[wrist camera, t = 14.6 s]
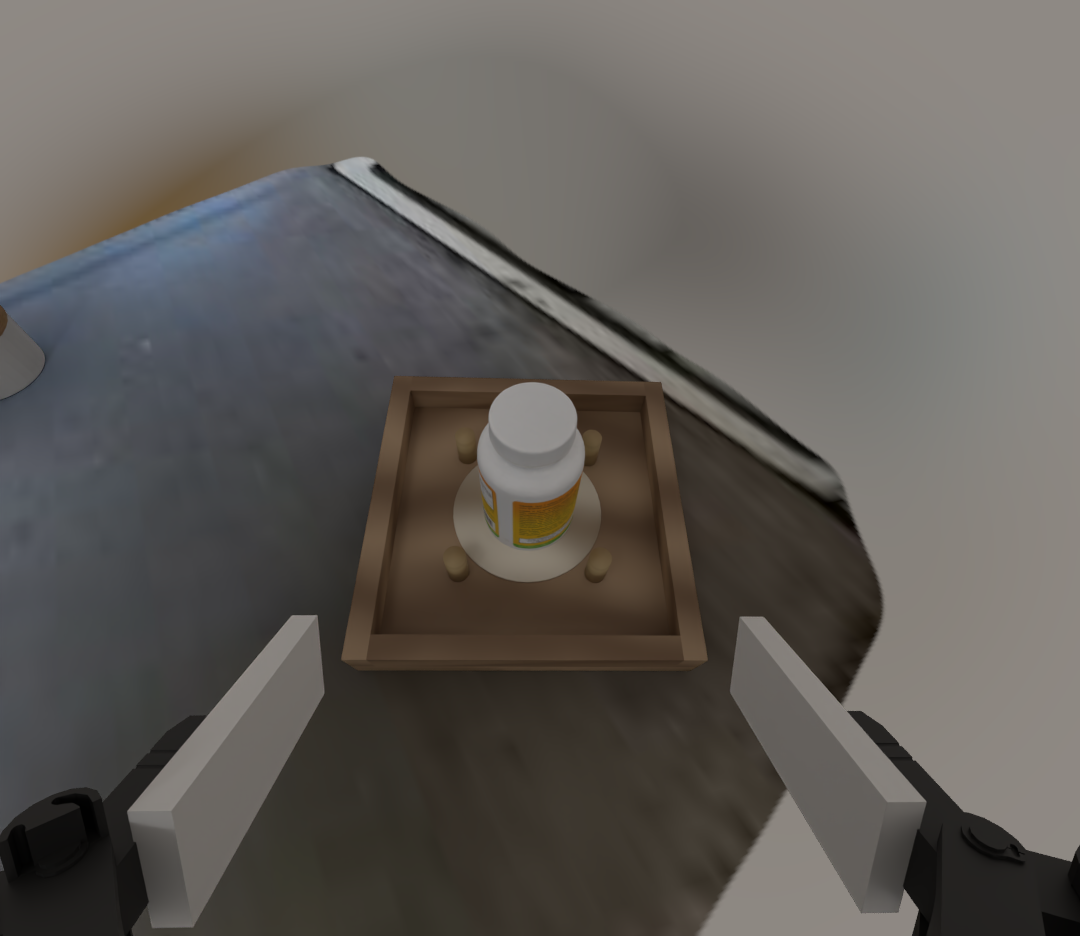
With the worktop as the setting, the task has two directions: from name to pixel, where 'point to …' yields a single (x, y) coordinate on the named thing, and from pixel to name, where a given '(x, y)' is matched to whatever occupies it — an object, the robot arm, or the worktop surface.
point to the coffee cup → (17, 357)
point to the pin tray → (517, 575)
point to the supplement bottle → (530, 465)
